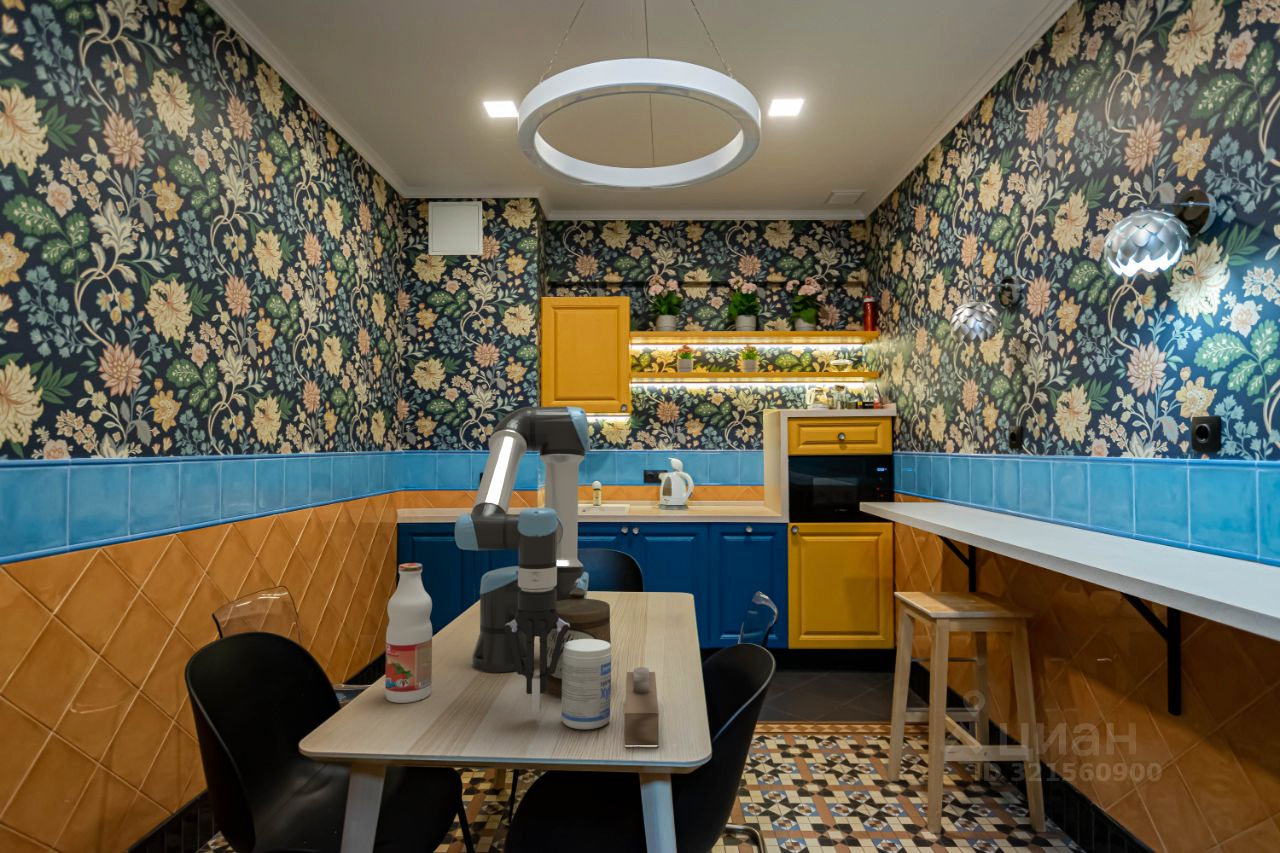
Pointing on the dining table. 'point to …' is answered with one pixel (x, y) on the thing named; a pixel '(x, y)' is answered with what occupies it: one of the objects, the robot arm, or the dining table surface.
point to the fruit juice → (409, 639)
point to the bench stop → (641, 708)
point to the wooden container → (577, 630)
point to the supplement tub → (586, 683)
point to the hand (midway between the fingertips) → (536, 710)
